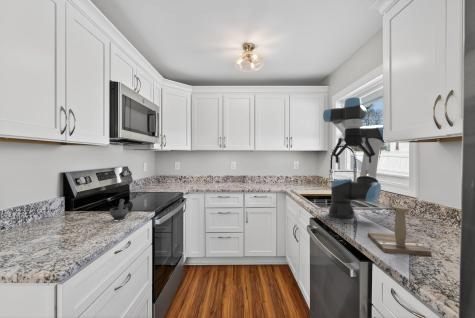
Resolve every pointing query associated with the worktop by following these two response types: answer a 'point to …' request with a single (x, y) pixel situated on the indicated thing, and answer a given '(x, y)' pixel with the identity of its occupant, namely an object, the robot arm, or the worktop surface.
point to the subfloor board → (391, 246)
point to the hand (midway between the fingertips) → (352, 169)
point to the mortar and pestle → (119, 211)
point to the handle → (400, 223)
